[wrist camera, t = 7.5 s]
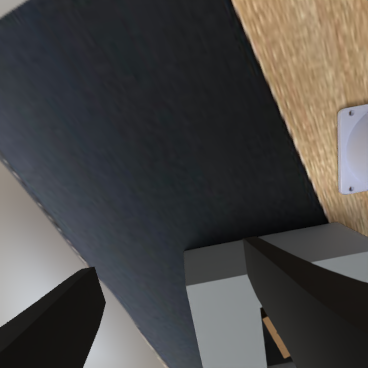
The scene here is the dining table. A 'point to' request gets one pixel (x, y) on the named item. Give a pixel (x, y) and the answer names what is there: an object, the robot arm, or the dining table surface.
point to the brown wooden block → (274, 333)
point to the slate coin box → (246, 298)
